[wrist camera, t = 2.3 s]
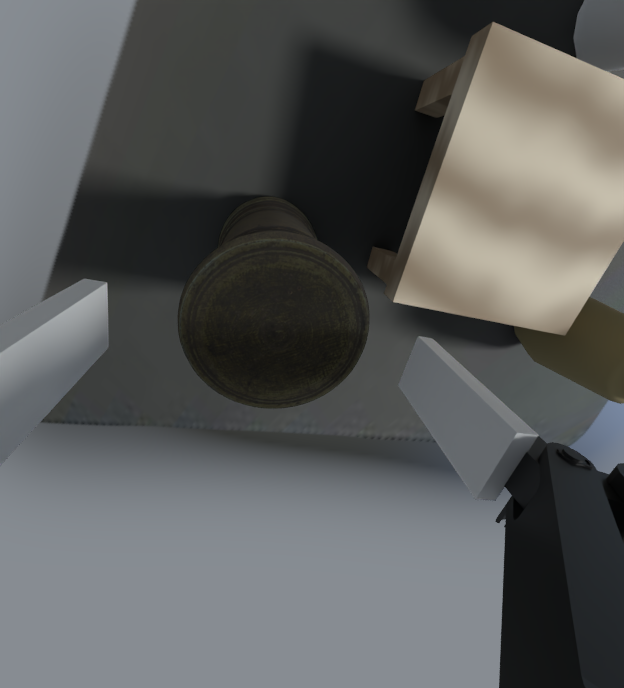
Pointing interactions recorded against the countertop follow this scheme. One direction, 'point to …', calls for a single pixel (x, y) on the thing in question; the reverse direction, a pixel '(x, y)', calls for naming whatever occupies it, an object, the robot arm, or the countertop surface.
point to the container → (272, 310)
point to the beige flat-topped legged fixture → (514, 187)
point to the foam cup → (600, 34)
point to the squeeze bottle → (584, 350)
